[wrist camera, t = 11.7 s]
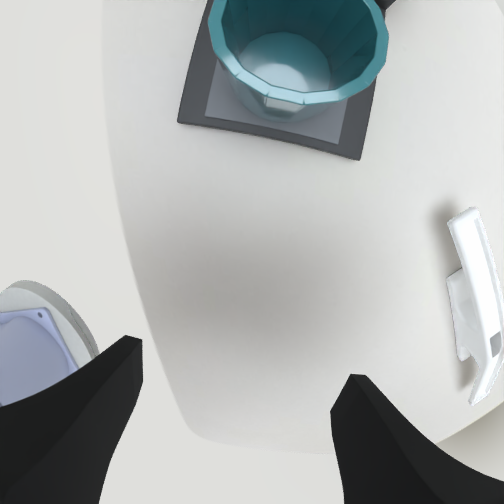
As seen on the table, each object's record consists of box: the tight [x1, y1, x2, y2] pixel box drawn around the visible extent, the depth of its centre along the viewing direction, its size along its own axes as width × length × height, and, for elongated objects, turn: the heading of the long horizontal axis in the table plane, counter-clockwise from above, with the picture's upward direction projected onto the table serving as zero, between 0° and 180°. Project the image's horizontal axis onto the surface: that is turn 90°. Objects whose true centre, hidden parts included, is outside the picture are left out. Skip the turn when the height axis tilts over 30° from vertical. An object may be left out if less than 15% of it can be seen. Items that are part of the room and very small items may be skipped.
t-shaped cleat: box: [446, 207, 504, 406], centre depth 17 cm, size 4×20×5 cm, turn 29°
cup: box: [208, 0, 389, 123], centre depth 10 cm, size 5×5×7 cm
